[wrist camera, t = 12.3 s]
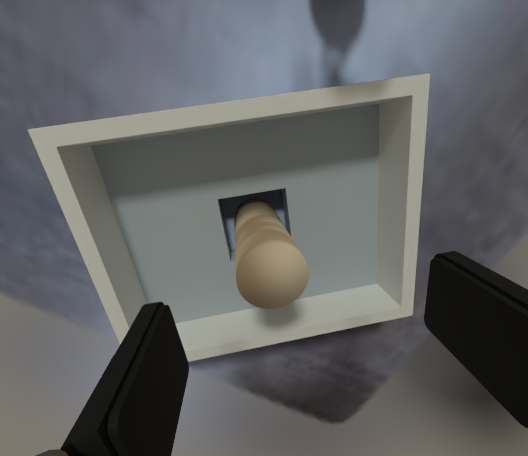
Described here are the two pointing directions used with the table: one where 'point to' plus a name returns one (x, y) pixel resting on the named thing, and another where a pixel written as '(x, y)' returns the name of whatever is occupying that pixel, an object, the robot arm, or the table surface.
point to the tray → (242, 183)
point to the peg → (266, 257)
